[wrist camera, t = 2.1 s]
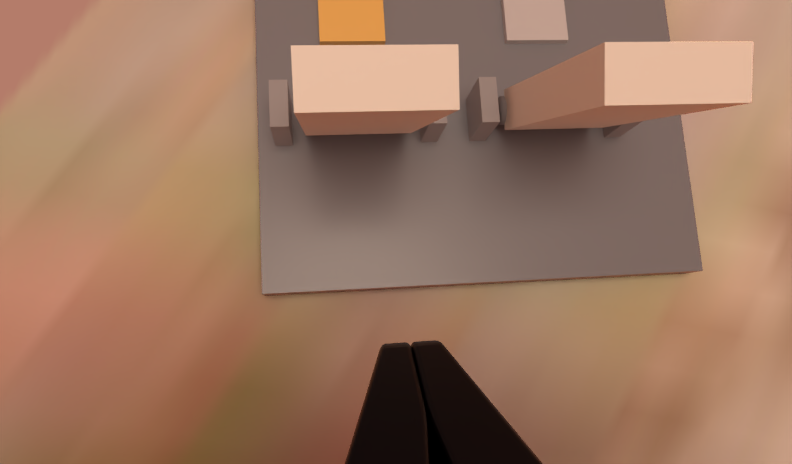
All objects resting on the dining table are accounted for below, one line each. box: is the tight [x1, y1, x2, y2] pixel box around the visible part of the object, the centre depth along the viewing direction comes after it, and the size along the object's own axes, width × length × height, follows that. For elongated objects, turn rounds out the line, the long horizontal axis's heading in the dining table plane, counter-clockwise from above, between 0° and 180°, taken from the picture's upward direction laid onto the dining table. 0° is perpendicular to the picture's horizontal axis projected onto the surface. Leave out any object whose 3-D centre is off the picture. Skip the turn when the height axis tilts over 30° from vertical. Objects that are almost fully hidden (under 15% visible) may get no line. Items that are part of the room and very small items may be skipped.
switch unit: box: [255, 0, 703, 296], centre depth 21 cm, size 12×16×3 cm
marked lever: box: [291, 44, 460, 136], centre depth 17 cm, size 1×4×8 cm, turn 93°
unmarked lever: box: [498, 41, 754, 130], centre depth 18 cm, size 1×4×8 cm, turn 94°
